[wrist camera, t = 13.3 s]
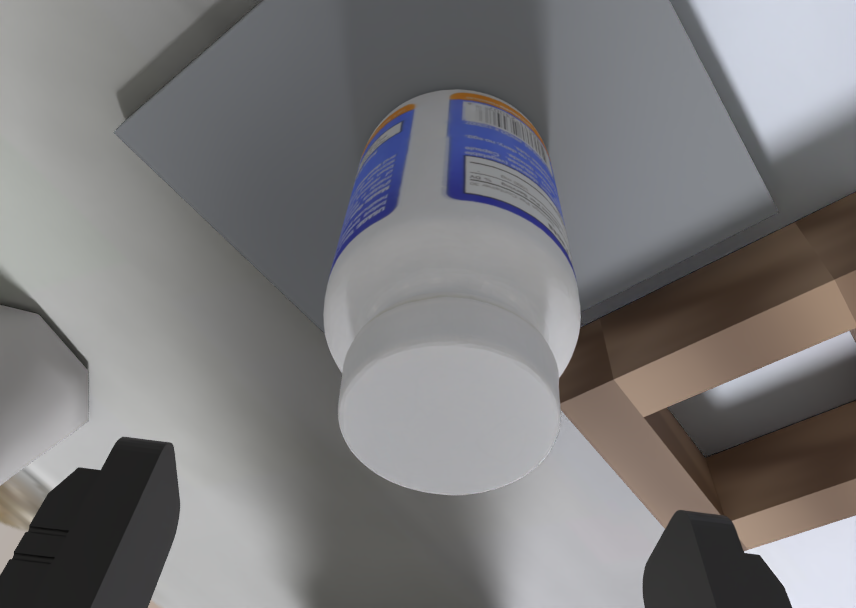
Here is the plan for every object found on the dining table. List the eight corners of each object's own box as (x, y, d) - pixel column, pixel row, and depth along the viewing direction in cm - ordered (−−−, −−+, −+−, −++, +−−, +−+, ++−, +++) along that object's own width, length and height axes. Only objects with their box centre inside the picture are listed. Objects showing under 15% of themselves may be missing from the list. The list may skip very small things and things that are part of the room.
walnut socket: (679, 501, 30) (697, 565, 28) (548, 343, 25) (557, 405, 23) (955, 401, 26) (1004, 467, 23) (863, 188, 21) (913, 243, 18)
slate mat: (400, 388, 27) (398, 403, 26) (124, 120, 21) (113, 132, 20) (769, 198, 21) (779, 212, 21) (540, -244, 15) (543, -244, 14)
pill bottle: (393, 269, 22) (353, 538, 15) (333, 109, 19) (242, 345, 12) (566, 233, 21) (620, 503, 14) (532, 58, 18) (577, 280, 10)
